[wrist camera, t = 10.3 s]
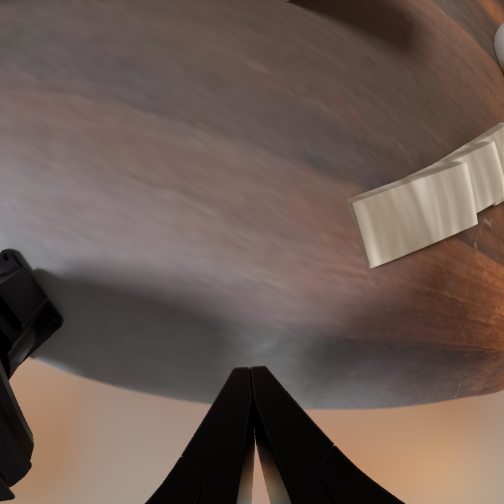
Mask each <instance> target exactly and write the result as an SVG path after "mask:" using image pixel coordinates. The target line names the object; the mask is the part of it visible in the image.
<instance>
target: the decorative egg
mask: <svg viewBox="0 0 504 504" xmlns="http://www.w3.org/2000/svg"><path fill="white" fill-rule="evenodd" d="M494 49H495V53H496V56H497V59H498V62H499V65H500V67H501V69H502V71H503V74H504V23H503V24H502V25H501V26H500V27H499V29H498V30H497V32H496V34H495V37H494Z"/></svg>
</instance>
